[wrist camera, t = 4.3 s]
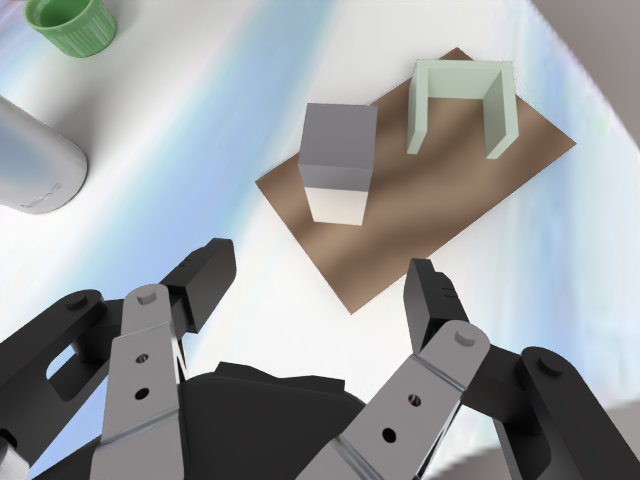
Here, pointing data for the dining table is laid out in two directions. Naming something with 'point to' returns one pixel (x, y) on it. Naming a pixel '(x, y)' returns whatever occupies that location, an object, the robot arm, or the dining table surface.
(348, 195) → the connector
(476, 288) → the dining table surface
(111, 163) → the dining table surface
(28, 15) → the ramekin
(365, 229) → the board
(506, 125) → the end holder
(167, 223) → the dining table surface
